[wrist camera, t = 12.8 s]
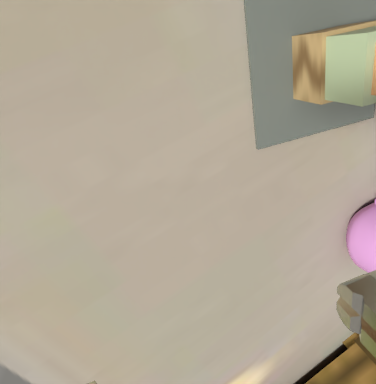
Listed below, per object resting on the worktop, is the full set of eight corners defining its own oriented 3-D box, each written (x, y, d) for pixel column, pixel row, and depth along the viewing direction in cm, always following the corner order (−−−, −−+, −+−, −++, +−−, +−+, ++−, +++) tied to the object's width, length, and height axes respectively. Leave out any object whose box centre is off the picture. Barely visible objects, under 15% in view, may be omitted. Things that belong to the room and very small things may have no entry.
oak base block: (291, 36, 39) (322, 32, 33) (345, 24, 40) (382, 19, 35) (293, 98, 42) (321, 104, 37) (342, 86, 43) (376, 90, 38)
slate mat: (242, -10, 36) (244, -11, 35) (385, -37, 39) (388, -38, 38) (256, 148, 44) (257, 149, 44) (371, 116, 48) (373, 117, 47)
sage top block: (326, 36, 34) (368, 32, 28) (378, 25, 35) (428, 19, 30) (324, 99, 37) (362, 106, 32) (373, 87, 38) (417, 91, 33)
